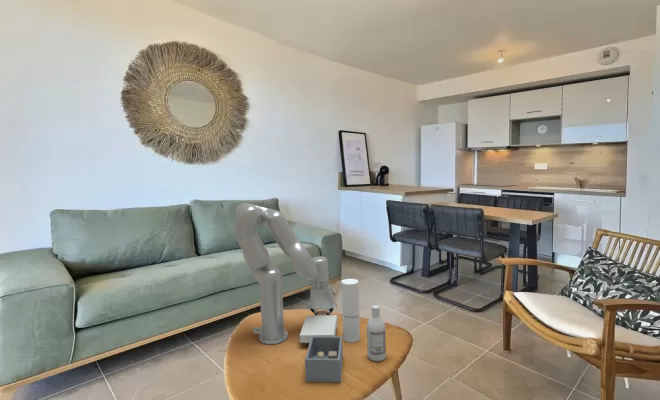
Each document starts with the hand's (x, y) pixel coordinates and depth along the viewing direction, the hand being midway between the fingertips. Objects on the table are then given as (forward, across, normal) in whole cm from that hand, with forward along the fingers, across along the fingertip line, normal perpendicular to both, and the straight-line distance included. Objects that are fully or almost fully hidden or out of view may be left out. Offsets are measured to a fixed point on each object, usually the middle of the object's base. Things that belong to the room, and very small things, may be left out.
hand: (322, 321), depth 158 cm
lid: (-1, 0, -9) cm, 10 cm away
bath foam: (+2, +24, -26) cm, 35 cm away
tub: (+1, +5, -34) cm, 35 cm away
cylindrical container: (+2, +14, -12) cm, 18 cm away
